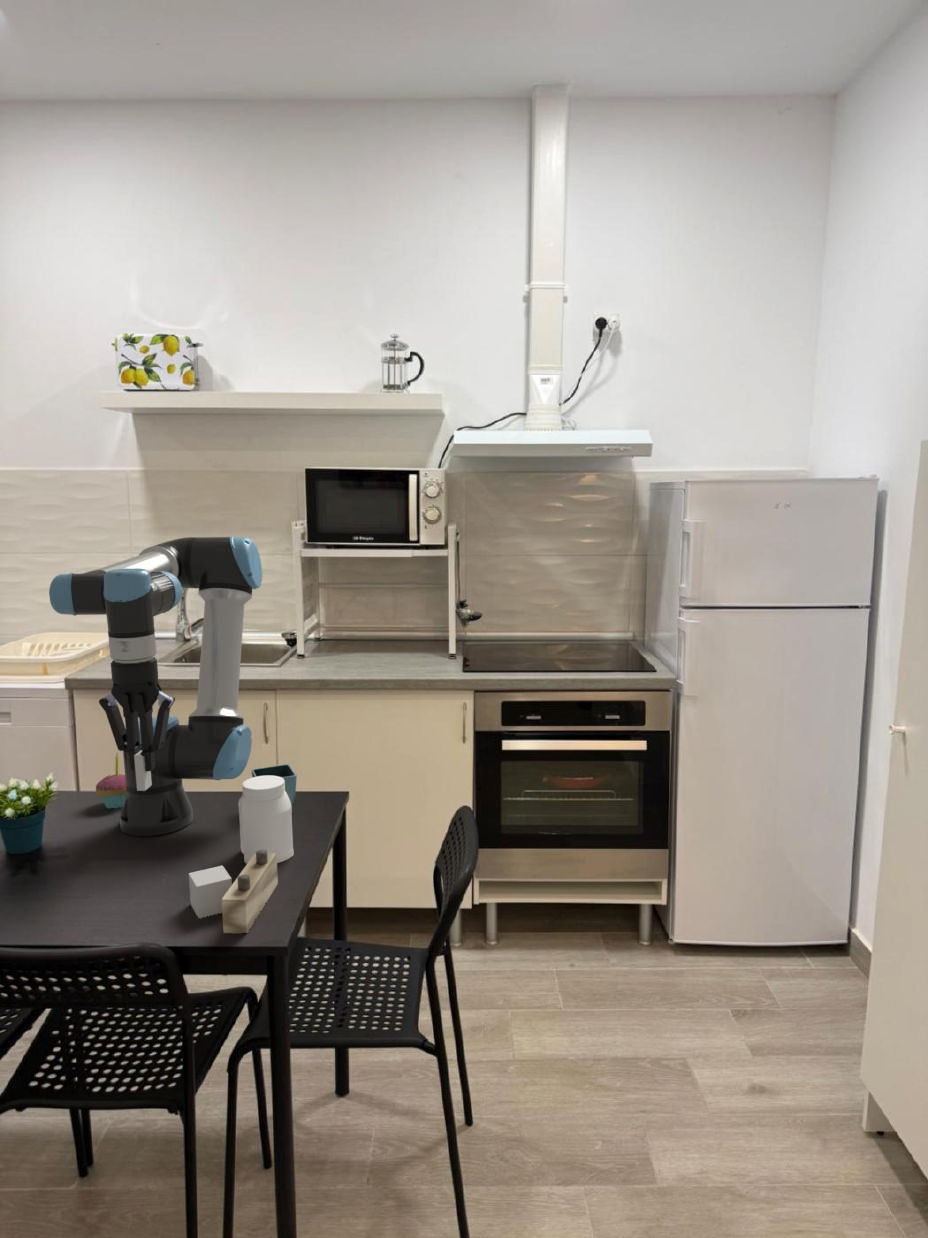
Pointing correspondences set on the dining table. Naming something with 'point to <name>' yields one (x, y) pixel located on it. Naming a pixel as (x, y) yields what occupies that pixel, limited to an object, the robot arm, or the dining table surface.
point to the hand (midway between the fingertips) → (144, 787)
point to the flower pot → (283, 772)
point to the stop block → (249, 892)
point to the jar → (265, 818)
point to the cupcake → (112, 789)
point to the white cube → (208, 890)
